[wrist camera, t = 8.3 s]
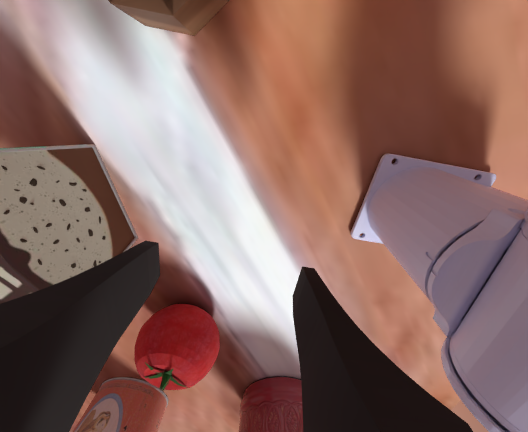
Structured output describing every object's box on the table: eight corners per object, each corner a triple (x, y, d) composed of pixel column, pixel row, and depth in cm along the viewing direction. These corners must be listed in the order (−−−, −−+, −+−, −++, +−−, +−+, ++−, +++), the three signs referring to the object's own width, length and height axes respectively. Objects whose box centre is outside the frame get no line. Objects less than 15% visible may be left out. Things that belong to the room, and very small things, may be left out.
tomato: (147, 288, 25) (97, 359, 18) (222, 290, 25) (201, 362, 18) (164, 337, 29) (128, 411, 22) (228, 339, 29) (214, 415, 22)
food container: (19, 136, 18) (-229, 161, 9) (85, 124, 18) (-110, 141, 9) (91, 255, 24) (-22, 345, 15) (143, 249, 23) (60, 340, 14)
